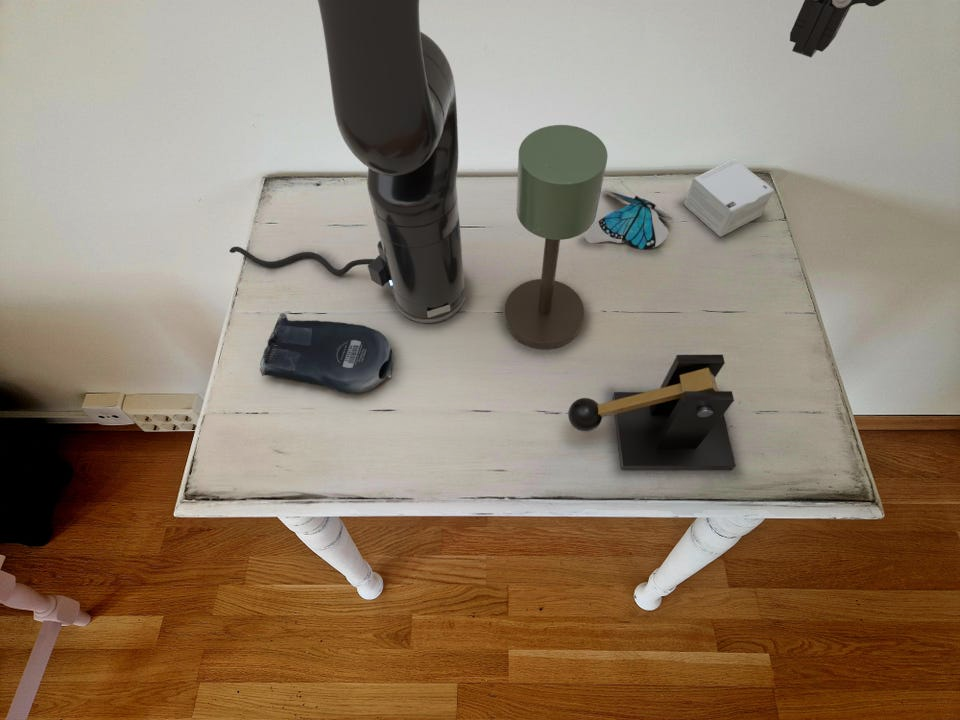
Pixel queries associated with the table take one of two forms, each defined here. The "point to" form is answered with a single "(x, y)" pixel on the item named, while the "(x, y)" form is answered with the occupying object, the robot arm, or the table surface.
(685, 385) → the lever with ball knob
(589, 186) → the desk lamp
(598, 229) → the decorative butterfly
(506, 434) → the table surface
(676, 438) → the switch bracket
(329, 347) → the electronic device
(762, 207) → the small box
